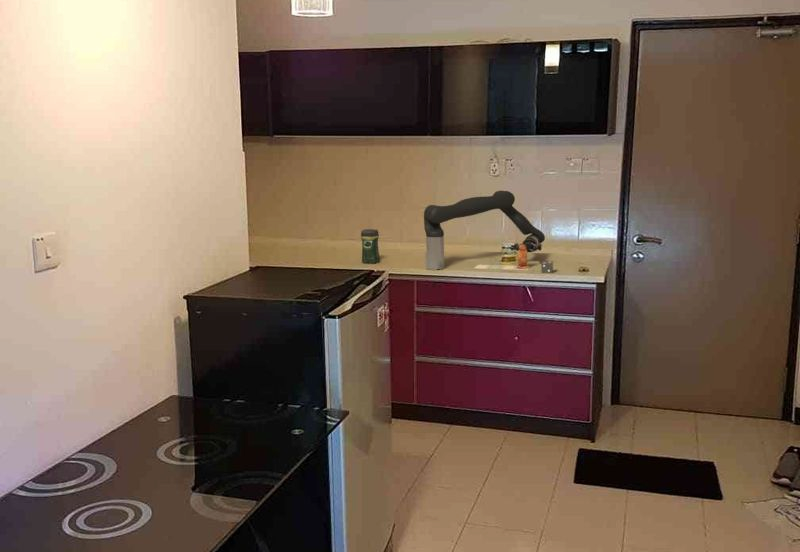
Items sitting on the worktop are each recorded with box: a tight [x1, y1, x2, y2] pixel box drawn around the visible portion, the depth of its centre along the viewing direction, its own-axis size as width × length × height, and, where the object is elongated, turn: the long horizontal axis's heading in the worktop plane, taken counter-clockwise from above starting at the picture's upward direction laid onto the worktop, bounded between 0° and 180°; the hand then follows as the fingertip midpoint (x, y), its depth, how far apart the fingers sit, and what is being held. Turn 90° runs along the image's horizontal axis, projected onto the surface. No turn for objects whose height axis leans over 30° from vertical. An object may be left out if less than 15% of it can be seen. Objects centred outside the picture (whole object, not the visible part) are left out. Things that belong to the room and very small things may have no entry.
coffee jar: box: [360, 228, 381, 264], centre depth 422 cm, size 10×8×19 cm
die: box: [541, 261, 554, 274], centre depth 385 cm, size 5×5×5 cm
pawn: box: [516, 243, 530, 269], centre depth 389 cm, size 6×6×12 cm
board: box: [474, 264, 531, 271], centre depth 393 cm, size 29×12×2 cm, turn 72°
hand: (525, 249), depth 395 cm, fingers open, 8 cm apart
